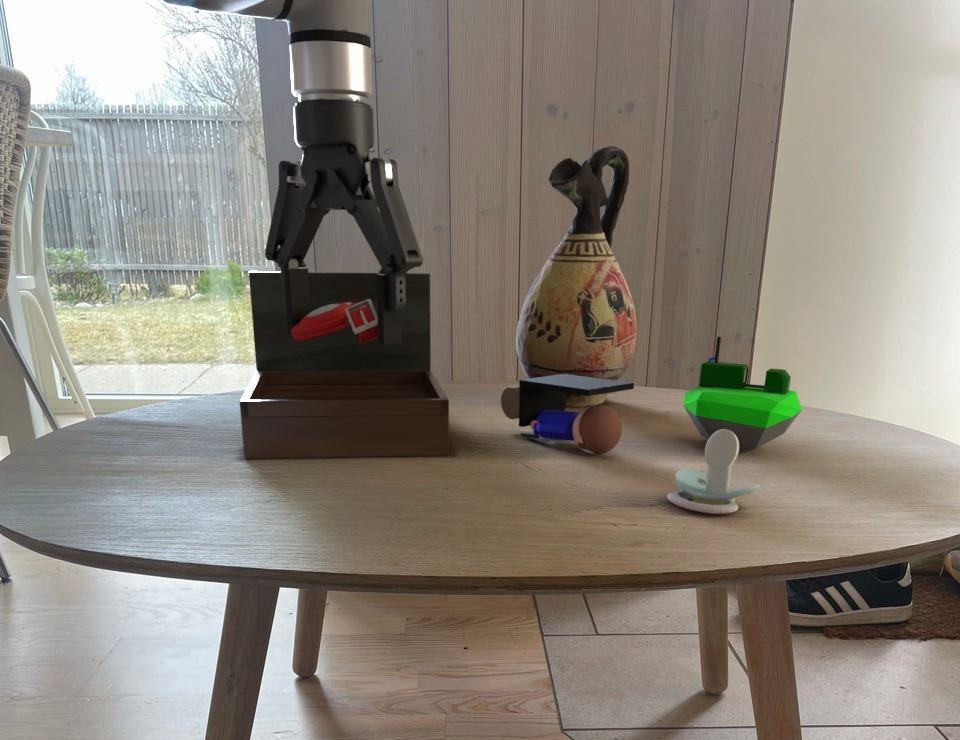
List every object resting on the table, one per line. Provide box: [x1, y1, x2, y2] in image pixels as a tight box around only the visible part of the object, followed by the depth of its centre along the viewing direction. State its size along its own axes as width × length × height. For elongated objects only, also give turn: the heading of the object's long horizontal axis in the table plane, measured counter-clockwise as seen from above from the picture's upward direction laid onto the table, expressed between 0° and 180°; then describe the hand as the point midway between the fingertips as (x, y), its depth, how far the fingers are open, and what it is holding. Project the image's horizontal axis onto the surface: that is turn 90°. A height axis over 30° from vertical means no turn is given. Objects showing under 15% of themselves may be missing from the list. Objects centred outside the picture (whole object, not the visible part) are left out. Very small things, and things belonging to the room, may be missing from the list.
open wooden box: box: [239, 270, 450, 460], centre depth 97 cm, size 21×20×16 cm
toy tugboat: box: [682, 336, 803, 453], centre depth 96 cm, size 12×12×11 cm
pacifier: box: [667, 429, 761, 515], centre depth 76 cm, size 7×6×6 cm
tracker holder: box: [291, 299, 378, 343], centre depth 97 cm, size 12×4×10 cm
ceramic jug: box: [515, 145, 638, 408], centre depth 117 cm, size 17×15×30 cm
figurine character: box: [500, 374, 635, 455], centre depth 97 cm, size 7×8×15 cm
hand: (343, 338), depth 96 cm, fingers closed on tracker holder, 12 cm apart
